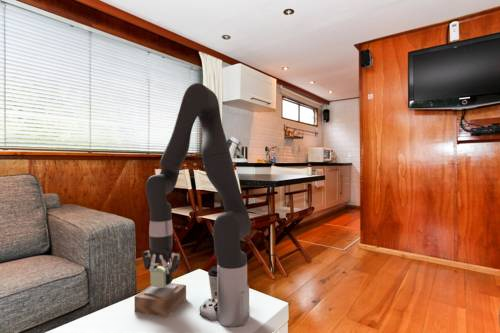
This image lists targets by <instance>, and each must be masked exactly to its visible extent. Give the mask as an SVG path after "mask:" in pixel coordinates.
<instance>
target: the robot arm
mask: <svg viewBox="0 0 500 333" xmlns="http://www.w3.org/2000/svg"><path fill="white" fill-rule="evenodd" d="M176 116H177V117H176V120H175V123H174V127H173V129H172V130H173V131H172V133H171V135H170V138H169V140H168V143H167V145H166V148H165V150H164V151H163V154H162V156H161V158H160V161H159V164H160V167H161V169H160V173H159V174H153V175H151V176H150V177H148V179H147V180H146V184H145V194H146V197H147V202H148V206H149V229H148V234H149V236H148V237H149V238H148V239H149V240H148V241H149V243H148V244H149V249H148V250H145V251H143V252H141V256H142V261H143V264H144V269H145V270H147V271H149V272H150V271H152V270H154V269H155V268H157V267H158V266H159V264H161V265H162V266H163V267H164V268H165V271H166V273H167V274H166V285H169V284H170V283H172V282H173V274H174V273H175V272H177V271H178V269H179V265H180V260H181V257H182V256H181V255H182V254H181V253H180V252H179V253H175V252H174V251H173V245H174V244H173V231H174V230H173V229H174V228H173V220H172V219H173V216H172V212H173V211H172V210H173V209H172V208H173V207H172V204H171V203H170V202H168V200H167V195H168V194H170V193H171V192H172V191H173V190H174V189H175V187H176V185H177V182H178V179H179V175H180V170H181V168H182V165H183V163H184V162H185V160H186V158H187V155H188V152H189V149H190V145H191V135H192V130H193V127H194V124H195V122H196V119H197V118H198V119H199V123H200V127H201V131H202V140H201V149H200V150H201V153H200V154H201V160H202V164H203V168H204V172H205V176H206V177H207V179H208V180H209V182H210V183H211V184H212V186H213V187H214V188H215V190H216V191H217V193H218V194H219V196H220V198H221V201H222V204H223V207H224V213H221V214H218V215H217V217H216V218H215V219H214V223H213V232H212V233H213V247H214V250H213V251H214V255H215V258H216V260H217V262H216V266H217V311H216V315H217V322H218V323H219V324H220V325H222V326H224V327H238V326H242V327H243V326H245V324H246V322H247V320H248V319H249V317H250V286H249V284H248V257H247V253H246V252H245V251H244V250H241V240H242V239H244V238H246V237H247V236H248V235H249V234H250V232H251V228H252V223H251V222H252V221H251V218H250V215H249V212H248V209H247V207H246V205H245V201H244V199H243V196H242V193H241V189H240V186H239V182H238V179H237V175H236V172H235V168H234V163H233V159H232V155H231V151H230V149H229V144H228V141H227V137H226V134H225V131H224V128H223V123H222V118H221V117H222V116H221V109H220V104H219V99H218V97H217V95H216V94H215V93H214V91H213V90H211V89H210V88H208V87H207V86H205V84H202V83H200V82H195V83H192V84H190V85H189V86H187V87H186V89H185V91H184V93H183V96H182V99H181V102H180V106H179V110H178V113H177V115H176Z"/></svg>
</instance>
